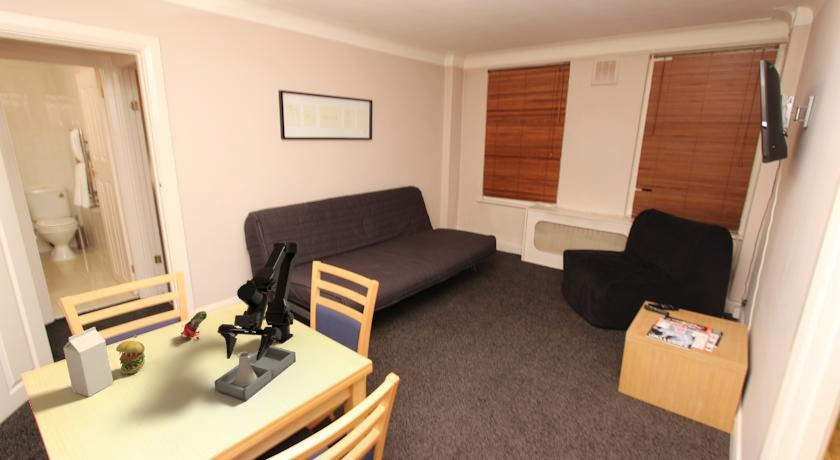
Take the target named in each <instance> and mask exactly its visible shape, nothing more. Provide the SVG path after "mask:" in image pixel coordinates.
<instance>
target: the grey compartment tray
mask: <svg viewBox="0 0 840 460" xmlns="http://www.w3.org/2000/svg"><path fill="white" fill-rule="evenodd" d="M257 353H258V351H256V352H255V353H254V354H252V355H250V356H248V360H249V363H250V365H251V367H252V369H253V371H254V372H255V374H256V376H257V378H258V379H257V380H255V381H254V382H253V383H251V384H250V385H249V386H247V387H246V388H241V387H238V386H235V385H233V383H234V380H235V377H236V374H237V370H238V367H239V364H237V365H236V366H235V367H233V368H231V369H230V370H229V371H226V373H224V374H223V375H221V376H220V377H218V378H217V379H216V380H214V381H213V383H214V390H215V392H217V393H219V394H223V395H226V396H229V397H231V398H234V399H237V400H241V401H243V402H246V403H247V401H248V400H249V399H251V398H252V397H253V396H254V395H257V393H258V392H260V391H261V390H262V389H263V388H265V387H266V386H267V385H269V384H270V383H271V382H272V381H273V380H274V379H276V378H277V377H278V376H279V375H281V374H282V373H283V372H284V371H285V370H287V369H288V368H289V367H290V366H292V365H293V364H294V363H296V361H297V360H296V351H293V350H288V349H285V348H281V347H278V346H274V345H272V344H271V345H270V346H269V347H268V349H267V350H266V351H265V352H264V354H263V355H262V357H261V358H260V359H259V360H258V361H257V360H256V357H257Z"/></svg>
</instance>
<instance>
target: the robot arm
mask: <svg viewBox="0 0 840 460" xmlns="http://www.w3.org/2000/svg"><path fill="white" fill-rule="evenodd" d="M302 249H303V248H302V244H300V242H298V241H289V240H288V241H287V240H282V241H277V242H274V244H273V248H272V251H271V252H270V254H269V256H268V258H267V260H266V262H265V263H264V266H263V268H261V269H259V270H258V271H256V273H254V275H253V277H252V278H251V279H248V280H246V282H245V283H244V284H242V285H240V287H239V288H237V291H236V292H237V293H236V296H237V297H238V299H239V300H241V301H242V302H243V303H244V304H245V305H247V308H246V310H244V311H243V313H242V314H238V315H237V314H236V315H234V322H233V323H234V324H231V323H230V324H228V323H222V324H220V325H219V326H218V328H217V333H218V334H219V335H220V336H221V337H222V338H224V341H225V346H226V347H225V348H226V359H228V360H230V359H231V357H232V354H233V352H234V349H235V347H236V346H235V345H236V343H237V340H238V338H237V336H238V335H246V336H260V345H259V346H258V350H257V352H258V353H257V357H256V360H257V361H258V360H259V359H260V358H261V357H262V355H263V354H264V352H265V351H266V350H267V349H268V347H269V346H270V345H271V346H272V344H273V343H280V344H283V343H285V342H287V341H288V340H290V339H291V338H292V337H293V336H294V334H293V333H291V330H290V329H291V327H290V326H292V325H294V317H295V316H294V314H293V313H292V312H291V307H290V304H289V302H288V297H289V291H290V286H291V279H292V275H293V268H294V264H295V263H296V262H297V261H298V260H299V258H300V254H301V253H302ZM277 274H278V275H277ZM276 276H278V277H276ZM272 292H275V293H274V298H273V299H272V300H271V299H270V297H269V294H265V293H272ZM264 321H265V322H266V325H267V326H266V325H265V327H263V328H262V326H263V322H264Z"/></svg>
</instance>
